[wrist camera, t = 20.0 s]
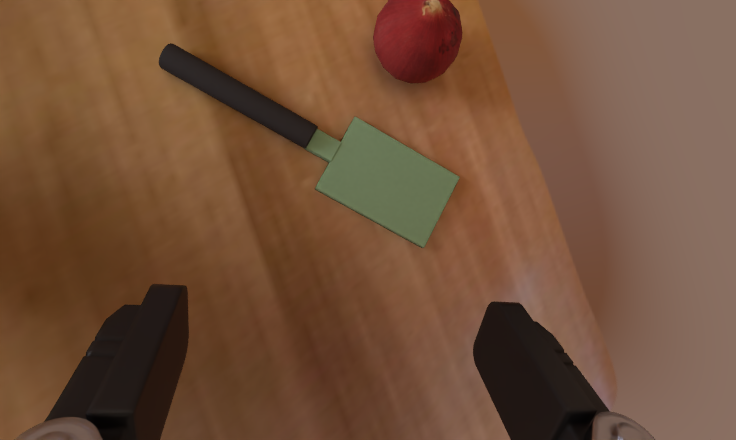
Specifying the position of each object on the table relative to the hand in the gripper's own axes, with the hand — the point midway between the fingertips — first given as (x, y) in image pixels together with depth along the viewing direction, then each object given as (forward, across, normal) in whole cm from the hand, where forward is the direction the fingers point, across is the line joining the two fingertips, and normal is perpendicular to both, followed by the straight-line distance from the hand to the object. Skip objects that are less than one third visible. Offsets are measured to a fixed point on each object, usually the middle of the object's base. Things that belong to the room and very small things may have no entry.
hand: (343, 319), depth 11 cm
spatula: (+21, 0, +2) cm, 21 cm away
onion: (+25, -6, -4) cm, 26 cm away
